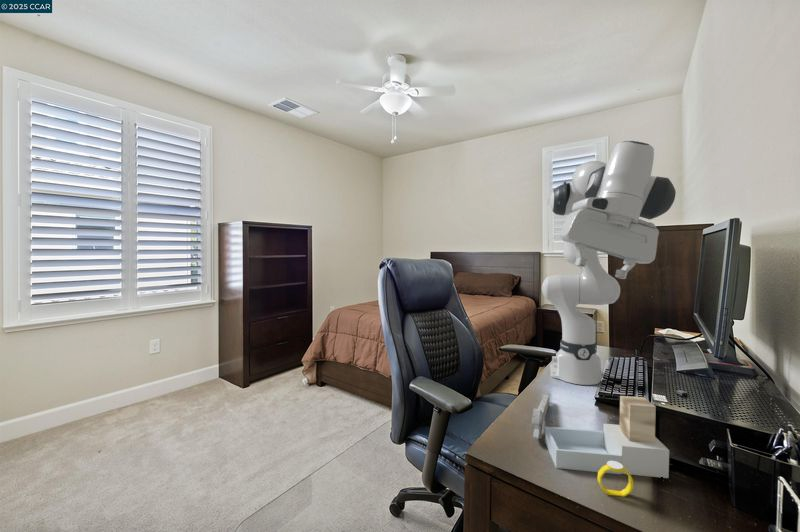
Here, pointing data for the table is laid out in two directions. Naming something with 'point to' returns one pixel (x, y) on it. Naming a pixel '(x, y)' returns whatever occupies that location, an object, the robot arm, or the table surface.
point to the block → (637, 419)
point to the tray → (578, 449)
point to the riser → (637, 453)
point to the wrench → (540, 416)
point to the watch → (616, 468)
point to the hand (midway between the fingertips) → (599, 272)
